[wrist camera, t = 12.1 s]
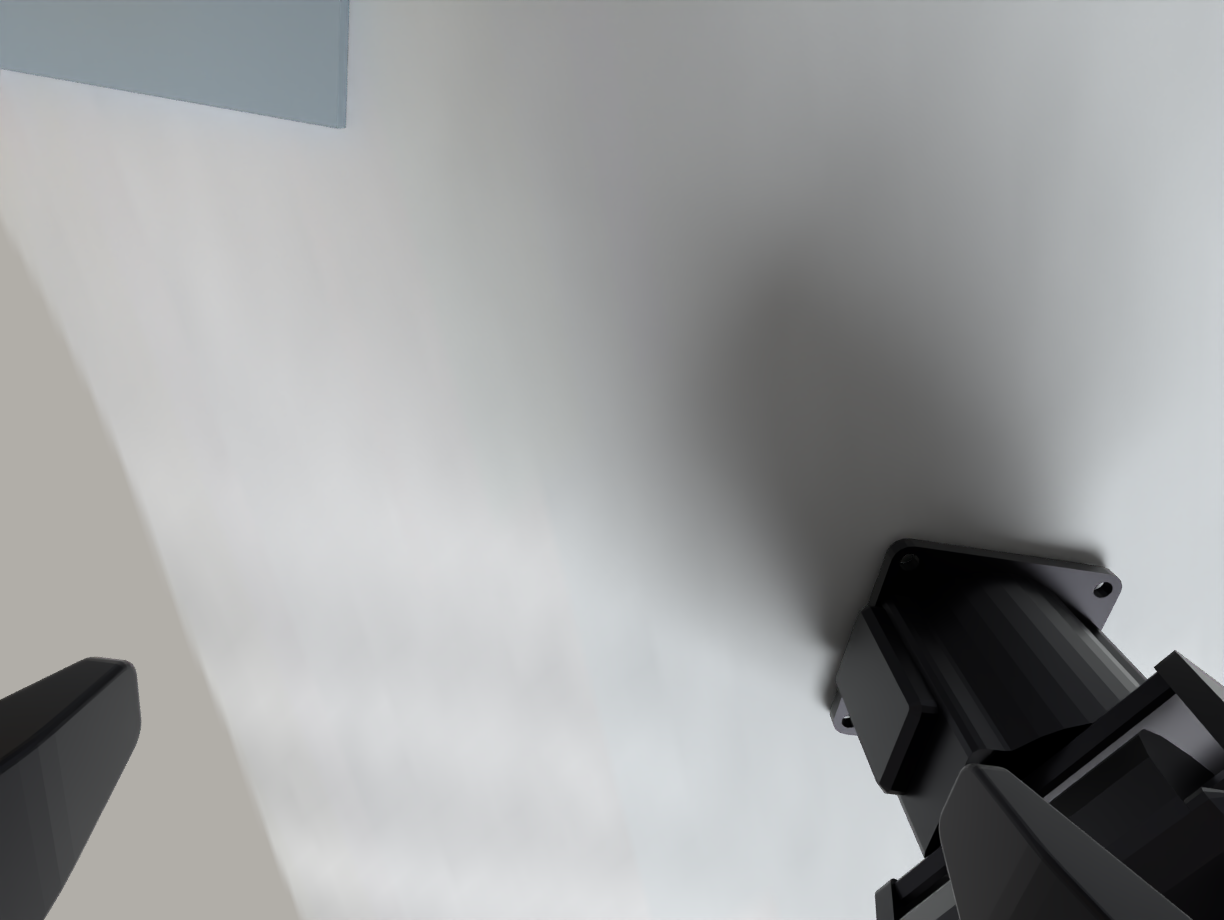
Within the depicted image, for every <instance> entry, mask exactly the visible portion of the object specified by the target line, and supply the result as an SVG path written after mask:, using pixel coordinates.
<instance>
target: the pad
mask: <svg viewBox="0 0 1224 920" xmlns="http://www.w3.org/2000/svg"><path fill="white" fill-rule="evenodd" d="M348 24H349V0H0V69H4V70H9V71H15V72H21V73H26V74H32V75H38V76H43V77H49V78H55V79H60V80H66V81H72V82H77V83H83V84H89V85H94V86H100V87H106V88H111V89H117V90H123V91H128V92H134V93H139V94H145V95H151V96H156V97H162V98H168V99H173V100H179V101H185V102H190V103H196V104H202V105H207V106H213V107H219V108H224V109H230V110H236V111H241V112H247V113H253V114H258V115H264V116H270V117H275V118H281V119H287V120H292V121H298V122H304V123H309V124H315V125H321V126H326V127H332V128H346V96H347V60H348Z"/></svg>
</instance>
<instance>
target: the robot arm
mask: <svg viewBox="0 0 1224 920" xmlns="http://www.w3.org/2000/svg"><path fill="white" fill-rule="evenodd" d="M909 554H913V557H912V559H911V560H910V561H908V562H905V563H900V561H901V559H902V558H903V557H904V556H906V555H909ZM1102 582H1104V583H1103V585H1102V586H1101V587H1100V588H1098V589H1095V590H1094V588H1095V587H1096V586H1097V585H1098V584H1100V583H1102ZM1121 589H1122V584H1121V580H1120V579H1119V578H1118V577H1117V576H1116V575H1115V574H1113V573H1112V572H1111V571H1110V570H1109V569H1107V568H1105V567H1101V566H1094V565H1087V564H1081V563H1074V562H1067V561H1060V560H1053V559H1046V558H1039V557H1032V556H1025V555H1018V554H1011V553H1005V552H998V551H991V550H984V549H977V548H970V547H963V546H956V545H949V544H942V543H936V542H929V541H922V540H915V539H902V540H899V541H896V542H895V543H894V544H892V545H891V546H890V547H889V549H888V551H887V552H886V555H885V558H884V561H883V564H882V566H881V569H880V572H879V575H878V578H877V580H876V583H875V586H874V589H873V592H872V594H871V597H870V600H869V603H868V605H867V606H865V607H864V608H863V609H862V610H861V611H860V612H859V613H858V616H857V619H856V622H855V625H854V628H853V630H852V633H851V636H850V639H849V642H848V645H847V647H846V650H845V653H844V656H843V659H842V662H841V664H840V667H839V670H838V673H837V676H836V684H837V686H838V690H837V692H836V695H835V698H834V701H833V704H832V706H831V709H830V717H831V719H832V722H833V725H834V727H835V729H836V730H837V731H839V732H840V733H843V734H848V735H856V736H858V738H859V740H860V743H861V745H862V748H863V750H864V752H865V755H866V757H867V760H868V762H869V765H870V767H871V770H872V772H873V775H874V777H875V779H876V782H877V784H878V785H879V786H880V788H881V789H882V790H883V792H884V793H886V794H895V795H897V796H898V798H899V800H900V803H901V805H902V807H903V810H904V812H905V814H906V817H907V819H908V821H909V823H910V826H911V828H912V830H913V833H914V835H915V837H916V840H917V842H918V844H919V847H920V849H921V851H922V854H923V856H924V858H925V859H923V860H922V861H921V862H920V863H918V864H917V865H916V866H915V867H913V868H912V869H911V870H910V871H908V872H907V873H906V874H905V875H904V876H902V877H901V878H900V879H899V880H896V879H891V880H890V881H888V882H887V883H886V884H885V885H883V886H882V887H881V888H880V889H878V890H877V891H876V892H875V902H876V918H877V920H1224V686H1223V685H1221V684H1220V683H1219V682H1217V681H1216V680H1215V679H1213V678H1212V677H1211V676H1209V675H1208V674H1207V673H1205V672H1204V671H1203V670H1201V669H1200V668H1199V667H1197V666H1196V665H1195V664H1193V663H1192V662H1191V661H1189V660H1188V659H1187V658H1185V657H1184V656H1183V655H1181V654H1180V653H1179V652H1177V651H1176V650H1174V651H1173V652H1172V653H1171V654H1169V655H1168V656H1167V657H1166V658H1165V659H1163V660H1162V661H1161V662H1160V663H1158V664H1157V665H1156V666H1155V667H1154V668H1155V670H1156V671H1157V672H1156V673H1155V674H1154V675H1152V676H1151V677H1150V678H1149V679H1146V677H1145V676H1144V675H1143V674H1142V673H1141V672H1140V671H1139V670H1138V669H1137V668H1136V667H1135V666H1134V665H1133V664H1132V663H1131V662H1130V661H1129V660H1128V659H1127V658H1126V657H1125V655H1124V654H1123V653H1122V652H1121V651H1120V650H1119V649H1118V648H1117V647H1116V646H1115V645H1114V644H1113V643H1112V642H1111V641H1110V640H1109V639H1108V638H1107V637H1106V636H1105V635H1104V633H1103V632H1102V631H1101V630H1102V628H1103V626H1104V624H1105V622H1106V620H1107V618H1108V616H1109V614H1110V612H1111V610H1112V608H1113V606H1114V604H1115V602H1116V600H1117V598H1118V596H1119V594H1120V592H1121ZM847 715H849V716H850V718H844V717H845V716H847ZM140 730H141V713H140V702H139V693H138V682H137V674H136V669H135V667H134V666H133V664H132V663H130V662H128V661H126V660H119V659H111V658H102V657H89V658H86V659H83V660H81V661H79V662H77V663H74V664H72V665H71V666H68V667H66V668H64V669H63V670H60V671H58V672H56V673H54V674H52V675H50V676H48V677H46V678H44V679H42V680H40V681H38V682H36V683H34V684H31V685H29V686H27V687H25V688H23V689H21V690H19V691H17V692H15V693H13V694H11V695H9V696H7V697H5V698H3V699H1V700H0V920H44V919H45V917H46V916H47V914H48V912H49V911H50V909H51V907H52V906H53V904H54V902H55V901H56V899H57V897H58V896H59V894H60V892H61V891H62V889H63V887H64V885H65V883H66V882H67V880H68V878H69V876H70V874H71V872H72V870H73V868H74V866H75V865H76V863H77V861H78V859H79V857H80V855H81V853H82V851H83V849H84V847H85V845H86V843H87V841H88V839H89V837H90V835H91V833H92V831H93V829H94V827H95V825H96V823H97V821H98V819H99V817H100V815H101V813H102V811H103V809H104V807H105V806H106V804H107V802H108V799H109V798H110V796H111V794H112V792H113V790H114V788H115V786H116V784H117V782H118V780H119V778H120V776H121V774H122V772H123V770H124V768H125V766H126V764H127V762H128V760H129V758H130V756H131V754H132V752H133V750H134V748H135V746H136V744H137V741H138V738H139V734H140Z"/></svg>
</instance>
